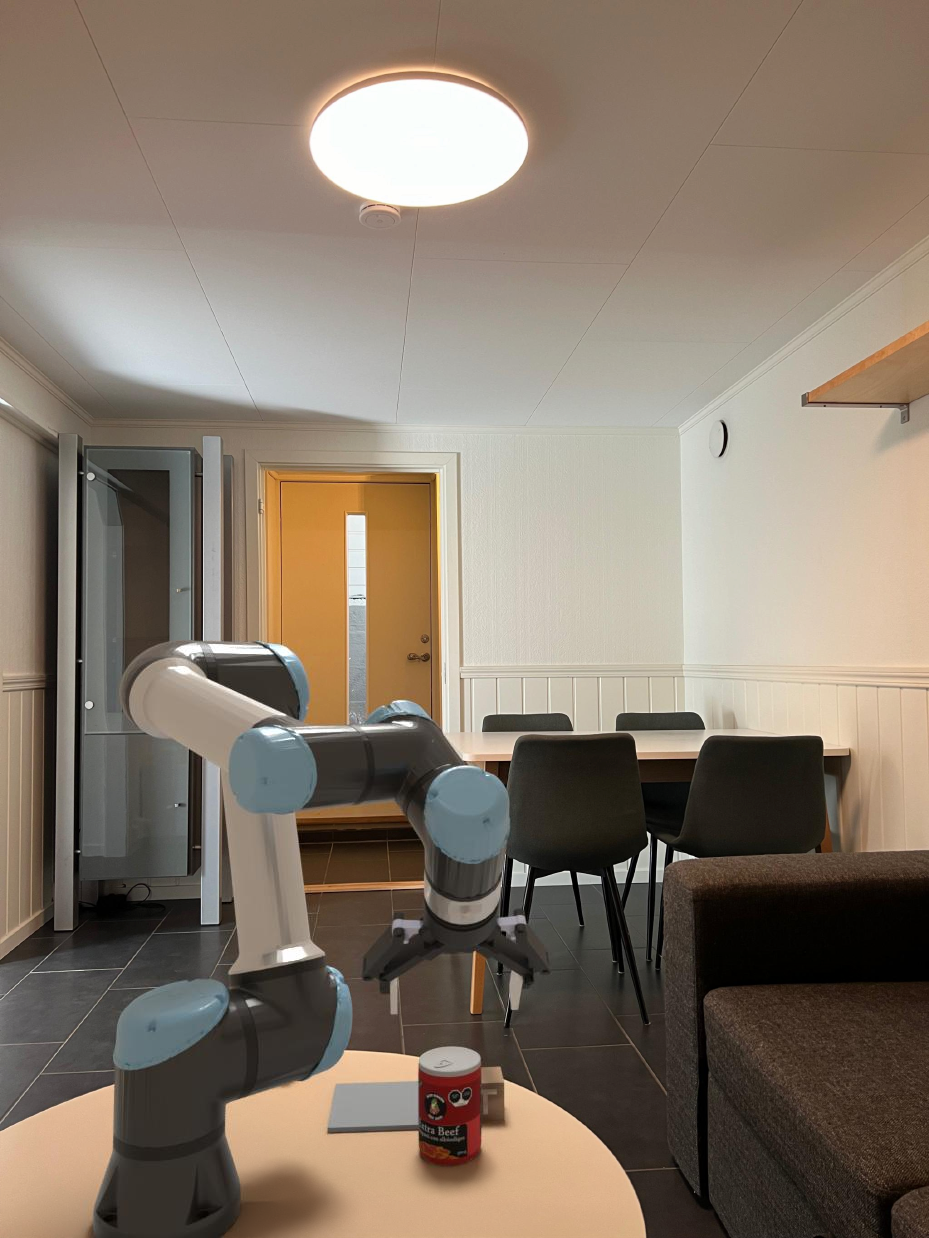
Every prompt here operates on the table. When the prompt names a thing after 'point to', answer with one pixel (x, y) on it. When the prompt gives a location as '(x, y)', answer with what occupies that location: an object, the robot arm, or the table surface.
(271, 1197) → the table surface
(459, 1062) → the canned food
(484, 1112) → the letter cube
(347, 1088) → the mat
